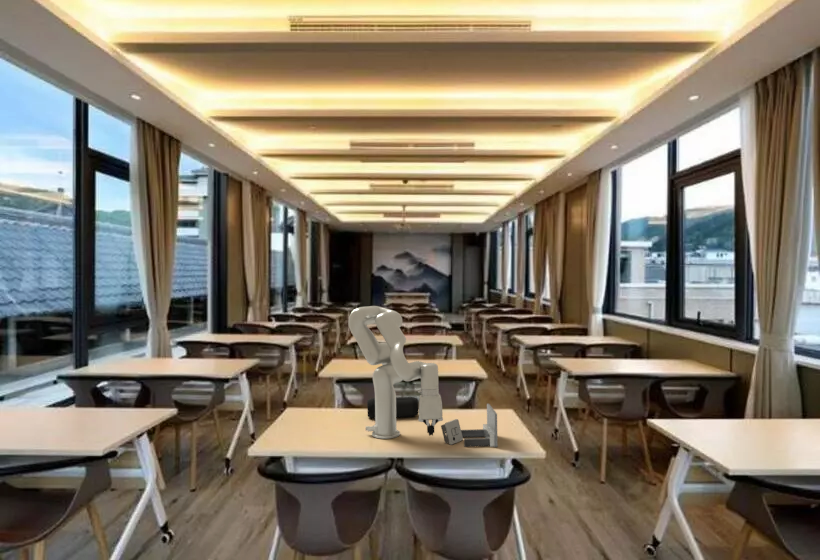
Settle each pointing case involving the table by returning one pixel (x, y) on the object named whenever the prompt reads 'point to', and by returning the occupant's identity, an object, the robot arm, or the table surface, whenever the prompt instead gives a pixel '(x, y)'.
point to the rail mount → (483, 432)
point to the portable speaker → (398, 407)
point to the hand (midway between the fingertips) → (430, 434)
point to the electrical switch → (452, 432)
